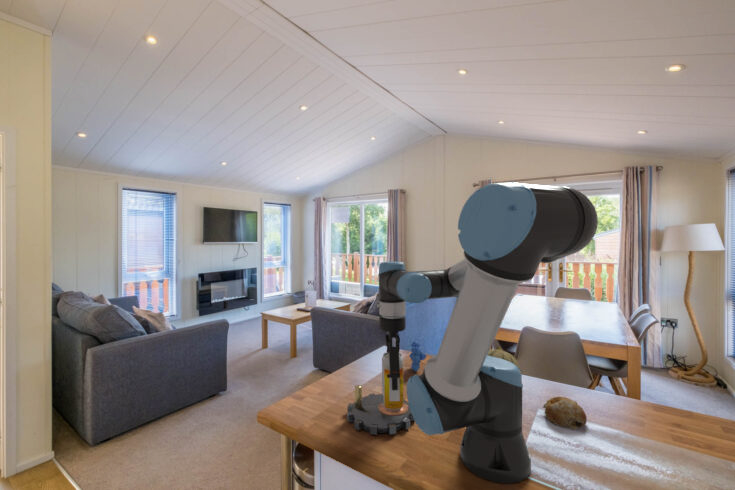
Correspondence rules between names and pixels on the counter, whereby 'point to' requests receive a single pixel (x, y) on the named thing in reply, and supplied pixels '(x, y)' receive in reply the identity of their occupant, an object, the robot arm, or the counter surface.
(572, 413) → the bread roll
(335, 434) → the counter surface
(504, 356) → the cantaloupe
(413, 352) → the grapes
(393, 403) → the beer can
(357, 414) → the sprocket
